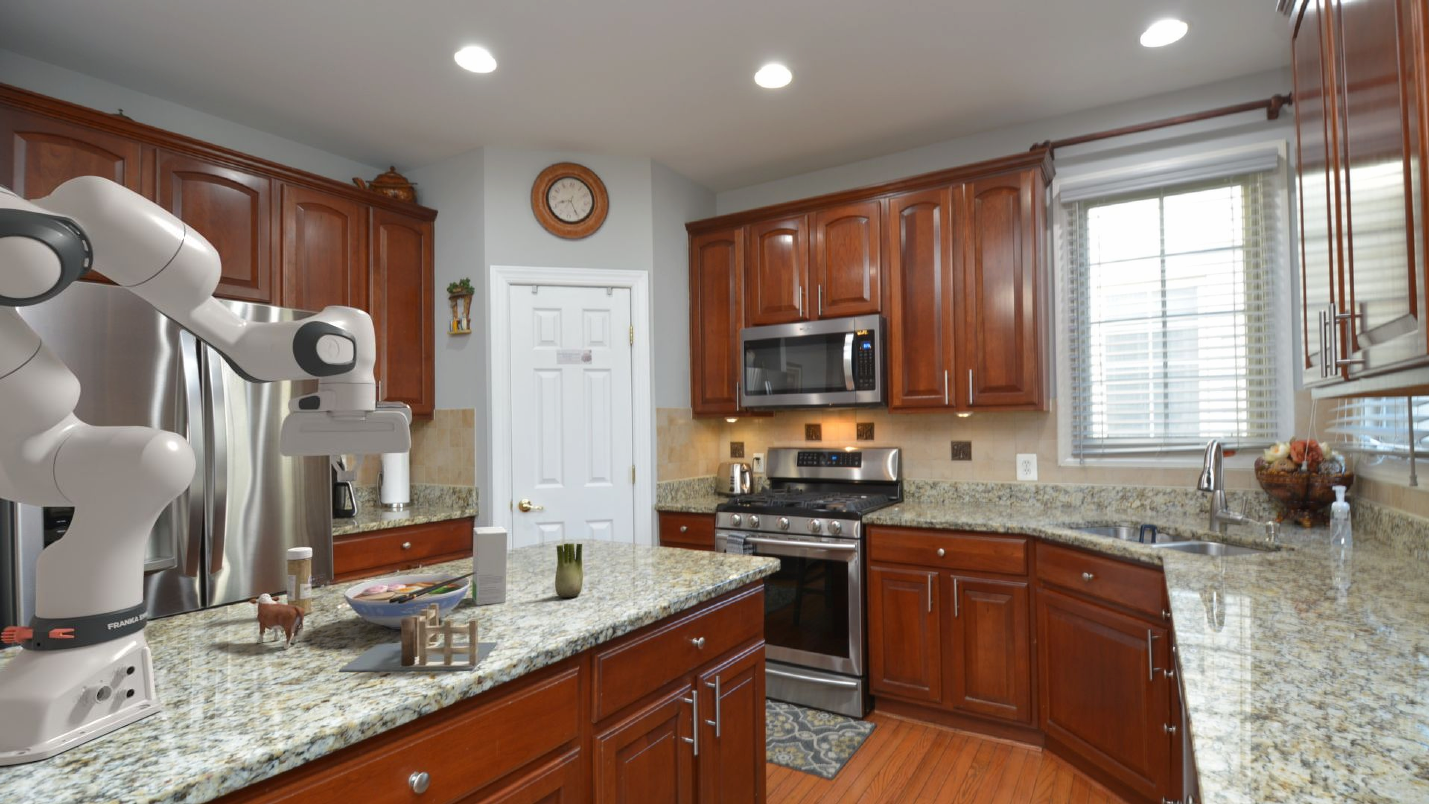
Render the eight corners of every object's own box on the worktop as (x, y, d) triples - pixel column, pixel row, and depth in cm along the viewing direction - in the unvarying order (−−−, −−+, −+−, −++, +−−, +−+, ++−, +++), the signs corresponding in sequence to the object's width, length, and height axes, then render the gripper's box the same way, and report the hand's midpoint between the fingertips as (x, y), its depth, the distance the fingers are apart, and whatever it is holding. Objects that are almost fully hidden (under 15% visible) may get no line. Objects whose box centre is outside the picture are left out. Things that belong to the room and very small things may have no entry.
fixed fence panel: (478, 662, 114) (477, 618, 114) (475, 665, 113) (475, 620, 113) (422, 663, 114) (422, 619, 114) (419, 665, 113) (419, 621, 113)
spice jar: (312, 614, 145) (312, 548, 145) (286, 618, 142) (287, 551, 143) (310, 609, 149) (311, 545, 149) (285, 613, 146) (285, 547, 146)
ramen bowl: (402, 604, 152) (402, 566, 153) (497, 610, 147) (497, 571, 147) (309, 639, 128) (309, 594, 128) (417, 648, 123) (417, 601, 123)
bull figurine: (269, 634, 132) (269, 590, 132) (310, 645, 125) (310, 599, 125) (243, 640, 128) (244, 595, 128) (284, 652, 121) (284, 604, 121)
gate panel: (417, 657, 116) (417, 617, 116) (409, 657, 116) (409, 617, 116) (438, 640, 124) (438, 603, 125) (431, 640, 124) (431, 603, 125)
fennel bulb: (583, 594, 160) (583, 540, 161) (580, 599, 155) (580, 544, 156) (557, 594, 160) (557, 541, 160) (554, 600, 155) (553, 545, 155)
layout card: (472, 670, 112) (472, 667, 112) (339, 671, 112) (339, 669, 112) (497, 643, 125) (497, 641, 125) (377, 645, 125) (377, 643, 125)
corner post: (411, 668, 113) (411, 621, 113) (399, 668, 113) (399, 621, 113) (416, 664, 115) (417, 617, 115) (404, 664, 115) (404, 617, 115)
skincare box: (471, 597, 158) (471, 527, 158) (502, 594, 161) (502, 525, 161) (476, 606, 150) (476, 532, 151) (508, 602, 153) (508, 530, 154)
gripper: (408, 402, 131) (408, 476, 130) (278, 401, 120) (278, 483, 119) (415, 401, 126) (415, 479, 125) (279, 400, 114) (279, 486, 114)
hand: (347, 481), depth 122 cm, fingers closed
